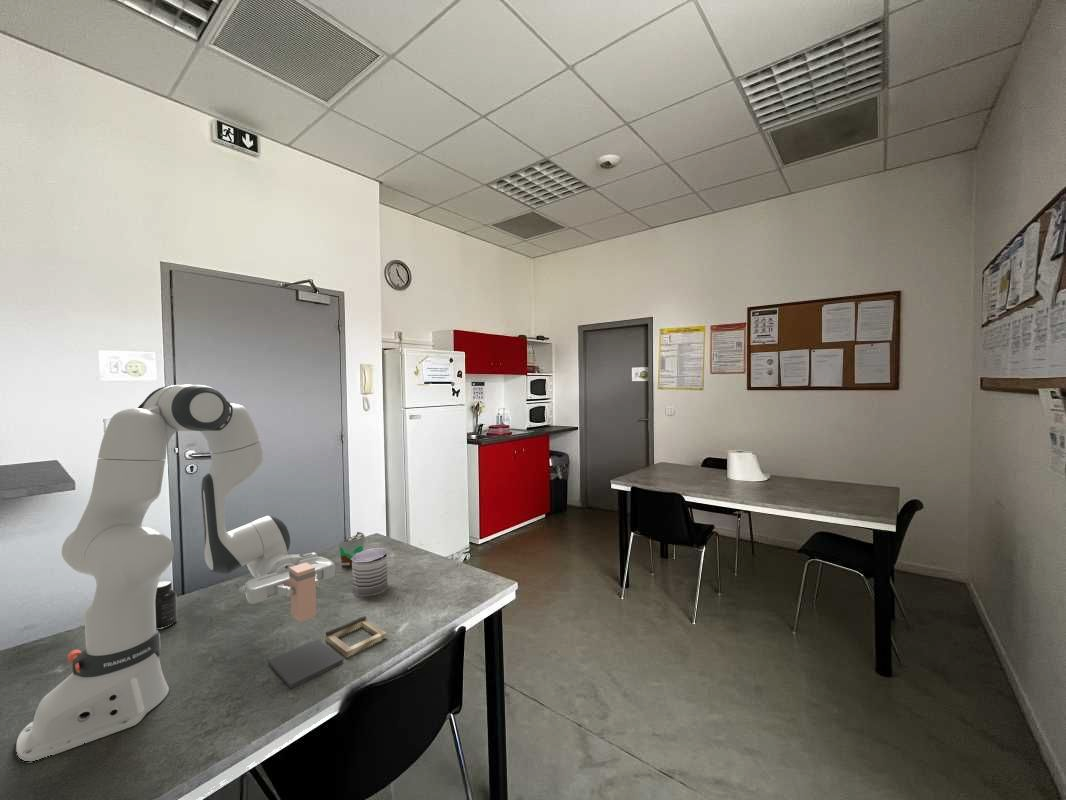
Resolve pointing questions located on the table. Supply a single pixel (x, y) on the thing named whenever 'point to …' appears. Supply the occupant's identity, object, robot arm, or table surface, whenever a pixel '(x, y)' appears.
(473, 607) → the table surface
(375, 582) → the can
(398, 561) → the table surface
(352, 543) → the food container
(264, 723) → the table surface
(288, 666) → the mat
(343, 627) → the frame
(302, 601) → the block
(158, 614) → the supplement bottle
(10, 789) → the table surface
